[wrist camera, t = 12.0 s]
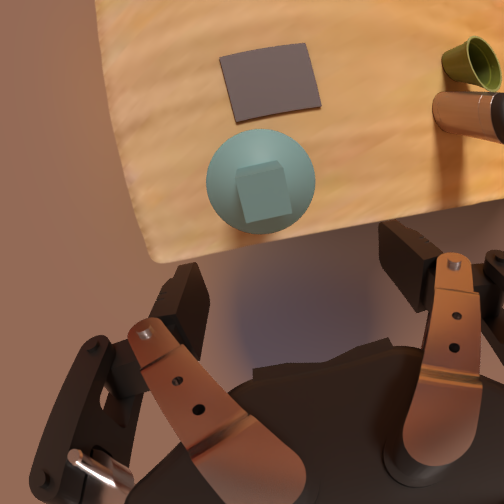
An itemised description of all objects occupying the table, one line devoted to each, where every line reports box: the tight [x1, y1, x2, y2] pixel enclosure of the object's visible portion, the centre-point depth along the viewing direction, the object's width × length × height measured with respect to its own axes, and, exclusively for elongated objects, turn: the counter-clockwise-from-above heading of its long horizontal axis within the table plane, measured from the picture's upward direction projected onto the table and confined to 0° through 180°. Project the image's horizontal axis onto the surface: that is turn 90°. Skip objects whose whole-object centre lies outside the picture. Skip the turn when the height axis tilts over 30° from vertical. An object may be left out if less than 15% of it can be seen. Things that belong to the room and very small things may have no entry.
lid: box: [206, 129, 315, 234], centre depth 25 cm, size 11×11×6 cm
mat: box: [219, 43, 322, 122], centre depth 39 cm, size 15×12×1 cm
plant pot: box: [442, 36, 502, 92], centre depth 29 cm, size 12×12×11 cm
